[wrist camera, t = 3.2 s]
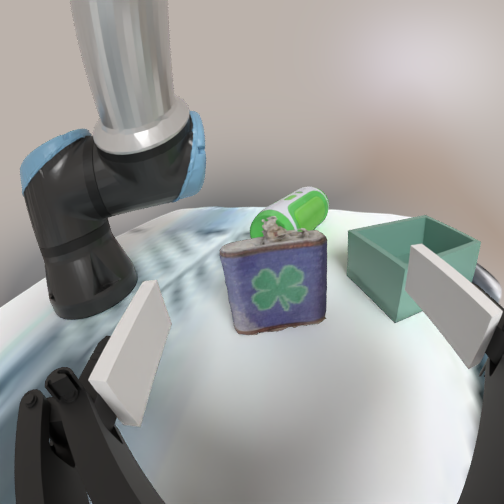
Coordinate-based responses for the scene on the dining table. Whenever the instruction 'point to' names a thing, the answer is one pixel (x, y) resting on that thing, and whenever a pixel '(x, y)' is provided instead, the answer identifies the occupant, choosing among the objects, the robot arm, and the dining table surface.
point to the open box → (403, 259)
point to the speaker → (294, 211)
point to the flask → (276, 279)
